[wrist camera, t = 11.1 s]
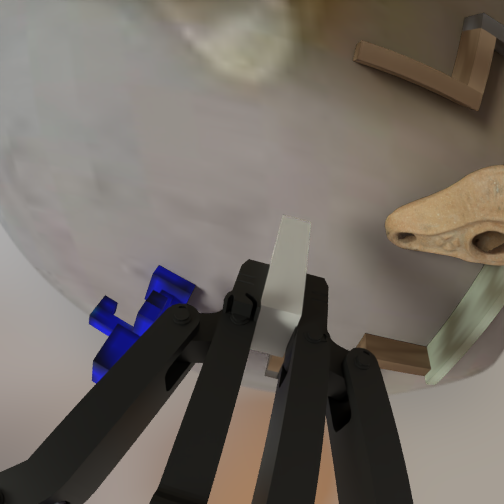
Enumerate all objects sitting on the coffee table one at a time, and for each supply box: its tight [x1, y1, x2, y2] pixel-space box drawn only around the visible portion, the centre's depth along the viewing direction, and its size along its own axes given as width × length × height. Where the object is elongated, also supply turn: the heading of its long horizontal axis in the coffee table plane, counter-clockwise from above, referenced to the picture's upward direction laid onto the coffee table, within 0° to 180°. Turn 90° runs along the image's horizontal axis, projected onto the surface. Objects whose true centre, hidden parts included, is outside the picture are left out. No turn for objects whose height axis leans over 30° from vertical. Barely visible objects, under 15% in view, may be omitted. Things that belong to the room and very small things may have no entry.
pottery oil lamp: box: [385, 165, 504, 266], centre depth 17 cm, size 9×12×7 cm
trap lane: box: [265, 13, 504, 385], centre depth 21 cm, size 35×18×4 cm, turn 169°
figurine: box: [89, 265, 196, 384], centre depth 26 cm, size 8×8×12 cm
